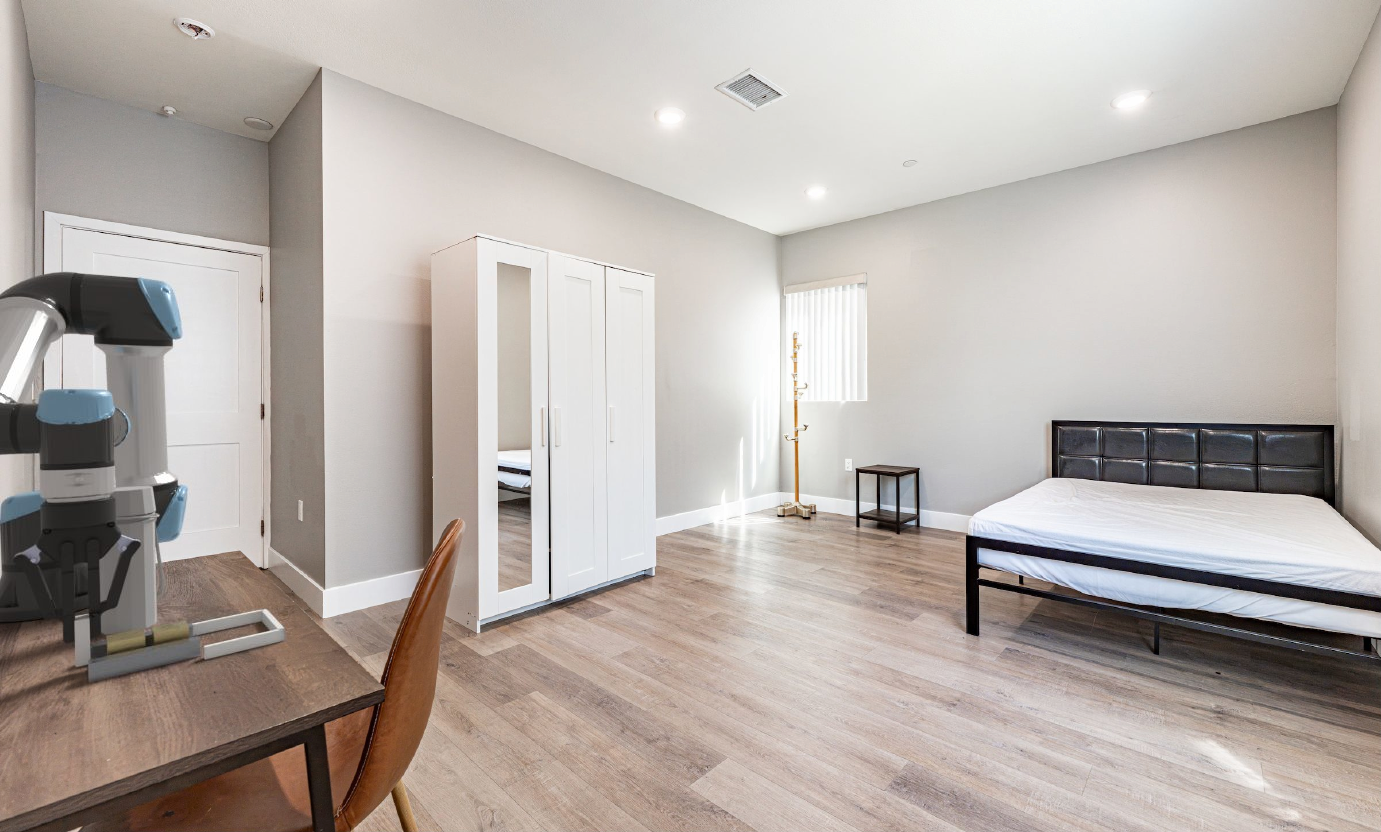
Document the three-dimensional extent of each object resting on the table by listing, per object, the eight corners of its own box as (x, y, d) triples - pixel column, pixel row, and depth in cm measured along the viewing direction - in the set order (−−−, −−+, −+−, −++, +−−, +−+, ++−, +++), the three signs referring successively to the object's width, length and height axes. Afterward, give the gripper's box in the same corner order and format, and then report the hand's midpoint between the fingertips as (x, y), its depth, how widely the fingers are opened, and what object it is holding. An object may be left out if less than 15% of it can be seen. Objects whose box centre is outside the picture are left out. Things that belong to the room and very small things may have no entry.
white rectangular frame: (192, 641, 100) (192, 623, 100) (266, 625, 107) (266, 608, 107) (205, 667, 90) (204, 647, 90) (285, 647, 97) (285, 628, 97)
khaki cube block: (152, 652, 93) (151, 626, 93) (186, 644, 96) (185, 619, 95) (154, 660, 90) (154, 633, 90) (189, 652, 93) (188, 626, 93)
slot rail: (87, 668, 90) (87, 644, 90) (191, 645, 98) (191, 622, 98) (89, 690, 83) (88, 664, 83) (200, 663, 91) (200, 639, 91)
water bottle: (123, 643, 99) (120, 492, 99) (86, 639, 101) (83, 491, 100) (181, 623, 108) (178, 484, 108) (146, 620, 110) (143, 483, 109)
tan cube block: (107, 662, 89) (106, 635, 89) (143, 654, 92) (142, 628, 92) (108, 670, 86) (107, 643, 86) (145, 662, 89) (145, 635, 89)
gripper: (7, 506, 78) (12, 686, 79) (142, 495, 87) (146, 656, 88) (12, 500, 83) (16, 668, 84) (139, 490, 93) (143, 642, 93)
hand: (83, 662), depth 86 cm, fingers closed
